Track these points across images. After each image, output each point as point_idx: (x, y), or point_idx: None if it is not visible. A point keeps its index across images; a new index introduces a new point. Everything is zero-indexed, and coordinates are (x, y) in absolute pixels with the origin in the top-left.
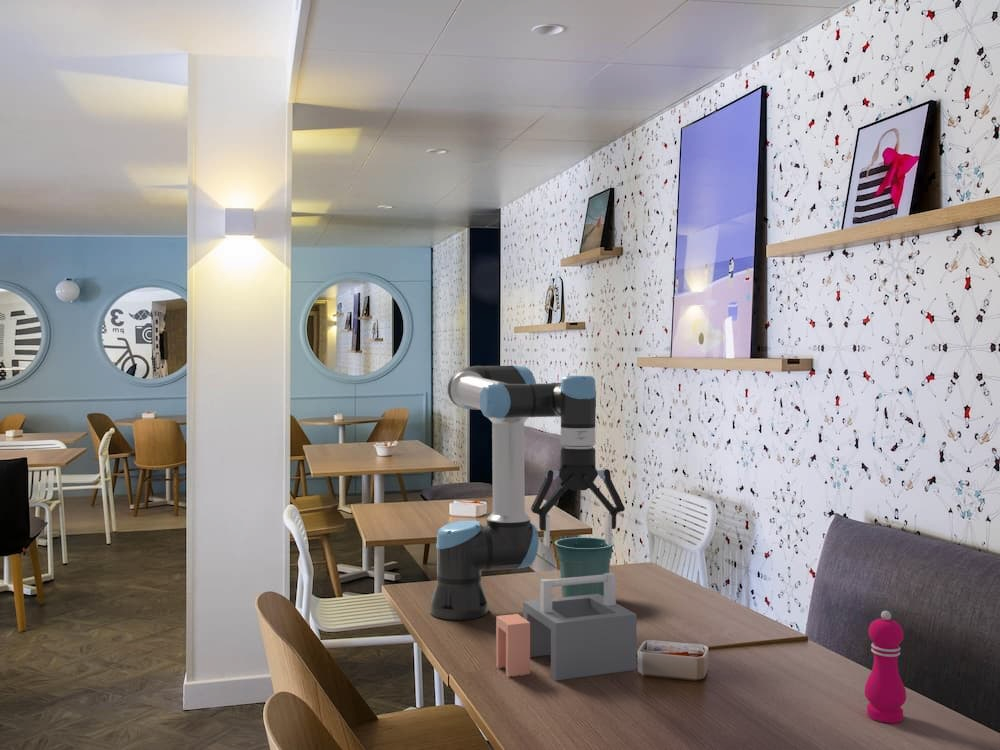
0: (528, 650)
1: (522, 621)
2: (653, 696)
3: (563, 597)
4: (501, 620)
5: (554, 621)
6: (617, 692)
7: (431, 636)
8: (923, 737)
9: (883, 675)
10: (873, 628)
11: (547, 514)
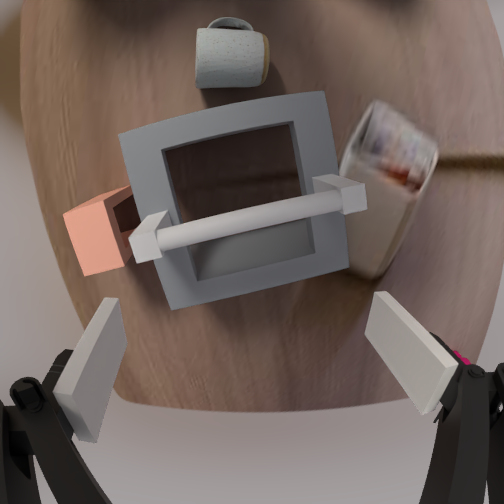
0: None
1: (110, 257)
2: (298, 326)
3: (227, 106)
4: (72, 242)
5: (169, 299)
6: (259, 313)
7: (29, 53)
8: None
9: None
10: None
11: (73, 399)
